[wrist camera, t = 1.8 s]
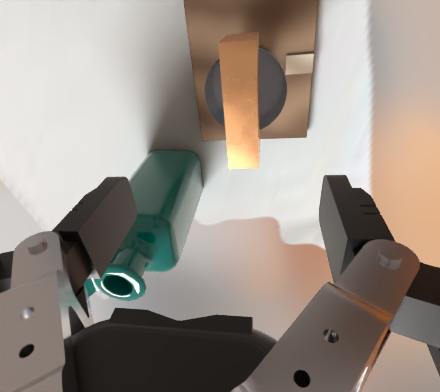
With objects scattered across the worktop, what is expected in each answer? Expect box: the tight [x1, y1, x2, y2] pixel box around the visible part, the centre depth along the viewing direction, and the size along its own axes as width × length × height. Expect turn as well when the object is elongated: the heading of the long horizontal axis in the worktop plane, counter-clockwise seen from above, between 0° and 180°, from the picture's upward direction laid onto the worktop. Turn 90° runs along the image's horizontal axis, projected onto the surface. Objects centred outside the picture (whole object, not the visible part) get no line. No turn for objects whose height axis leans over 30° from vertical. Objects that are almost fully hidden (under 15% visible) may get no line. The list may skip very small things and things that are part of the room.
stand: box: [184, 0, 318, 141], centre depth 31 cm, size 18×14×10 cm
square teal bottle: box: [84, 150, 203, 301], centre depth 36 cm, size 10×8×22 cm
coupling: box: [205, 32, 287, 169], centre depth 24 cm, size 10×7×8 cm
